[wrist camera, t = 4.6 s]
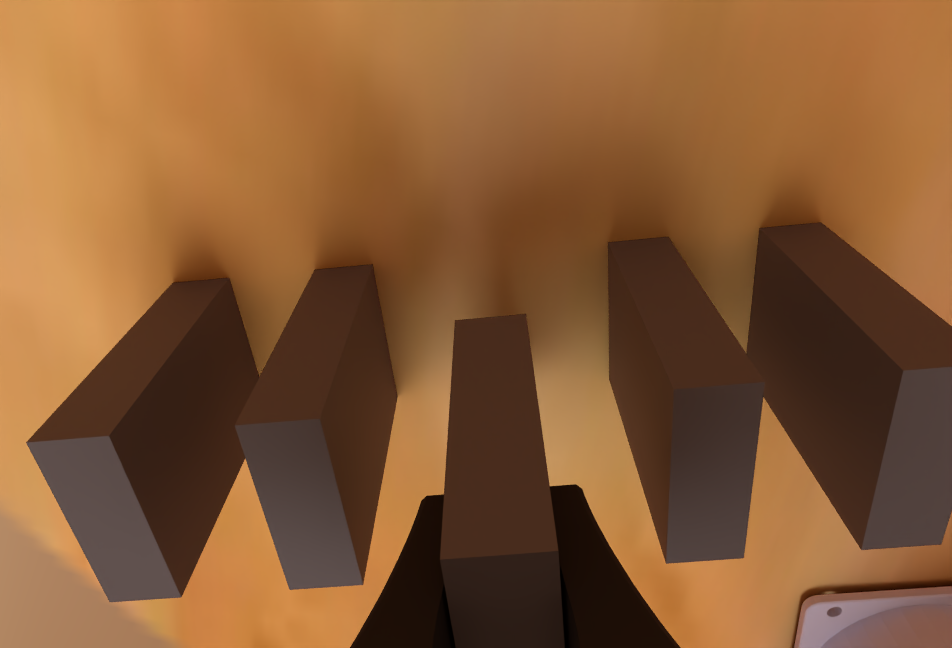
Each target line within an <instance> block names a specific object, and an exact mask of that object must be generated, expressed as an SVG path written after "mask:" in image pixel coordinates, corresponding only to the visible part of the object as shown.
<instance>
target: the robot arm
mask: <svg viewBox="0 0 952 648" xmlns="http://www.w3.org/2000/svg"><path fill="white" fill-rule="evenodd" d="M550 493H551V500H552V508H553V515H554V522H555V530H556V537H557V544H558V552H559V567H560V582H561V597H562V612H563V628H564V643H565V648H680V647H679V645H678V644H677V643H676V642H675V640H674V639H673V638H672V636H671V635H670V634H669V633H668V631H667V630H666V629H665V627H664V626H663V625H662V623H661V622H660V621H659V620H658V618H657V617H656V615H655V614H654V613H653V611H652V610H651V608H650V607H649V606H648V604H647V603H646V601H645V600H644V599H643V597H642V596H641V594H640V593H639V591H638V590H637V589H636V587H635V586H634V584H633V583H632V581H631V580H630V578H629V576H628V575H627V573H626V572H625V570H624V568H623V567H622V565H621V564H620V562H619V561H618V559H617V557H616V556H615V554H614V553H613V551H612V549H611V547H610V546H609V544H608V542H607V541H606V539H605V537H604V535H603V533H602V531H601V530H600V528H599V526H598V524H597V522H596V520H595V518H594V516H593V514H592V512H591V510H590V508H589V505H588V503H587V501H586V498H585V496H584V493H583V490H582V489H581V488H580V487H579V486H577V485H576V484H575V485H562V486H550ZM443 503H444V495H432V496H426V497H425V498H424V499H423V500H422V501H421V504H420V507H419V510H418V513H417V516H416V518H415V521H414V524H413V526H412V529H411V531H410V534H409V536H408V538H407V541H406V543H405V545H404V547H403V550H402V552H401V554H400V556H399V559H398V561H397V563H396V565H395V567H394V569H393V571H392V573H391V575H390V577H389V579H388V581H387V583H386V585H385V587H384V589H383V591H382V593H381V595H380V597H379V598H378V600H377V602H376V604H375V606H374V607H373V609H372V611H371V613H370V614H369V616H368V618H367V620H366V621H365V623H364V625H363V627H362V628H361V630H360V632H359V634H358V635H357V637H356V639H355V640H354V642H353V644H352V645H351V647H350V648H456V647H455V642H454V636H453V630H452V625H451V619H450V613H449V608H448V602H447V597H446V591H445V585H444V580H443V574H442V568H441V563H440V551H441V535H442V519H443ZM794 648H952V586H945V587H930V588H915V589H900V590H885V591H870V592H855V593H840V594H825V595H815V596H811V597H809V598H807V599H806V600H805V601H804V602H803V604H802V607H801V613H800V618H799V624H798V629H797V634H796V640H795V645H794Z"/></svg>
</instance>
